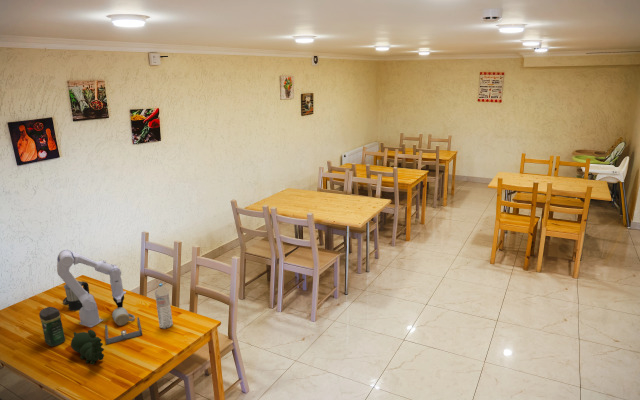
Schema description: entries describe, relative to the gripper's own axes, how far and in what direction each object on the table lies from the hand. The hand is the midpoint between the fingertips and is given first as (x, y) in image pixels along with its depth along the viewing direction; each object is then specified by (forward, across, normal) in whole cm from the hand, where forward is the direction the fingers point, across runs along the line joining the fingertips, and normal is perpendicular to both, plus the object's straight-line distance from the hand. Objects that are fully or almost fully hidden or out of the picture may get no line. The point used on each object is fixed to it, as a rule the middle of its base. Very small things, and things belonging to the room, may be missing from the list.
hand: (120, 308), depth 247 cm
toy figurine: (+4, -35, +16) cm, 39 cm away
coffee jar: (+4, -12, +32) cm, 34 cm away
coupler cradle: (+4, -21, 0) cm, 21 cm away
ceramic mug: (+4, -9, -1) cm, 10 cm away
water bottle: (+4, -25, -21) cm, 33 cm away
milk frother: (+4, +25, +24) cm, 35 cm away
